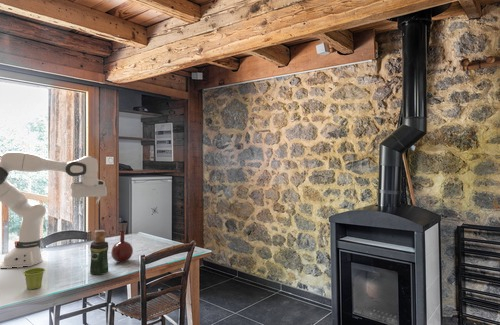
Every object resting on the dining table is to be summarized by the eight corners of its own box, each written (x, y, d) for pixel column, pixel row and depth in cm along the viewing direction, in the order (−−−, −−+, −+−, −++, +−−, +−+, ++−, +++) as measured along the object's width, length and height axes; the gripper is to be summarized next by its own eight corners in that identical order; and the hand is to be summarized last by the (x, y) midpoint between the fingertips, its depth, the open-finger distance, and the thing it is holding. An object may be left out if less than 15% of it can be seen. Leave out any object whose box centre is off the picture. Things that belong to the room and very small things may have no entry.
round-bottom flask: (137, 260, 218) (137, 230, 217) (122, 266, 206) (122, 234, 205) (121, 257, 223) (121, 228, 222) (106, 263, 211) (106, 232, 210)
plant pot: (48, 283, 176) (48, 267, 176) (38, 291, 166) (38, 274, 166) (30, 283, 175) (30, 267, 175) (19, 291, 166) (19, 273, 166)
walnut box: (95, 243, 190) (95, 232, 190) (93, 241, 194) (94, 230, 194) (105, 241, 193) (105, 231, 192) (103, 239, 197) (103, 229, 197)
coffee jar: (110, 271, 196) (111, 240, 196) (101, 276, 188) (101, 243, 188) (97, 269, 199) (97, 239, 199) (87, 274, 191) (87, 242, 191)
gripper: (71, 182, 199) (71, 205, 199) (107, 182, 211) (107, 203, 211) (70, 181, 204) (69, 203, 205) (106, 181, 216) (105, 202, 216)
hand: (89, 203), depth 208 cm, fingers open, 8 cm apart
